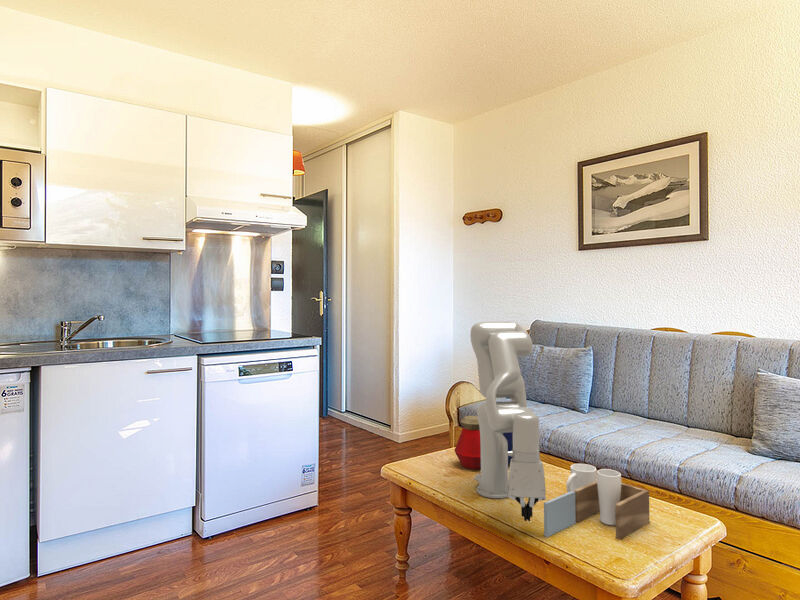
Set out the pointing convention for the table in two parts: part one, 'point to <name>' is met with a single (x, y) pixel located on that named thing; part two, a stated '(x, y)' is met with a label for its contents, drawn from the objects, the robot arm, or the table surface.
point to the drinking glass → (608, 494)
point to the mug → (581, 476)
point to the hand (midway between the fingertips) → (526, 519)
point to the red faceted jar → (469, 444)
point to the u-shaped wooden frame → (627, 512)
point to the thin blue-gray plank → (559, 513)
